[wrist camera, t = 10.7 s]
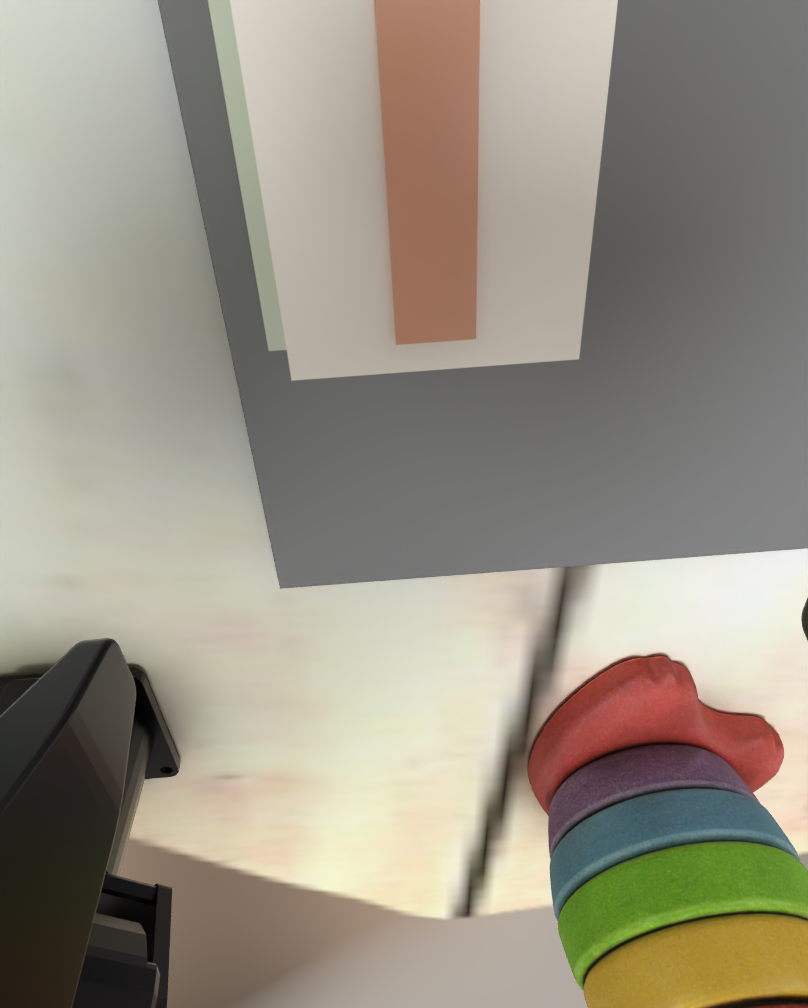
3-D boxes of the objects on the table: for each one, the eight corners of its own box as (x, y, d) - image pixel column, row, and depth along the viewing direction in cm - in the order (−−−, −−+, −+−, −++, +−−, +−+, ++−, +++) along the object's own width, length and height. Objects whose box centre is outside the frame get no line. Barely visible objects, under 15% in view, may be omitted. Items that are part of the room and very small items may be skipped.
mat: (908, 528, 24) (921, 541, 23) (281, 576, 24) (280, 590, 23) (1346, -350, 12) (1393, -366, 12) (105, -293, 12) (92, -308, 11)
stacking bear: (792, 735, 31) (1168, 1359, 17) (619, 832, 35) (802, 1398, 21) (646, 637, 27) (993, 1378, 12) (468, 762, 31) (570, 1422, 16)
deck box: (569, -205, 12) (653, -286, 9) (537, 294, 18) (581, 363, 14) (231, -186, 12) (185, -259, 9) (302, 310, 17) (291, 385, 14)
